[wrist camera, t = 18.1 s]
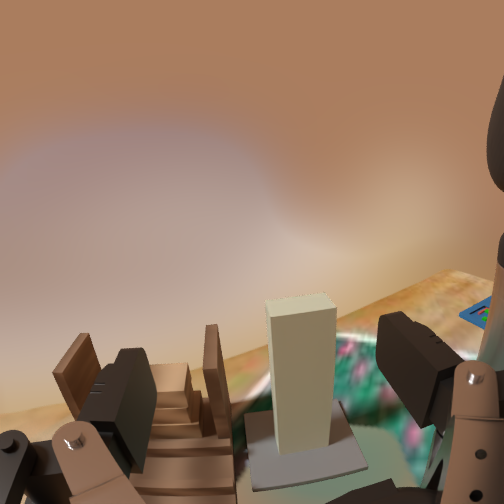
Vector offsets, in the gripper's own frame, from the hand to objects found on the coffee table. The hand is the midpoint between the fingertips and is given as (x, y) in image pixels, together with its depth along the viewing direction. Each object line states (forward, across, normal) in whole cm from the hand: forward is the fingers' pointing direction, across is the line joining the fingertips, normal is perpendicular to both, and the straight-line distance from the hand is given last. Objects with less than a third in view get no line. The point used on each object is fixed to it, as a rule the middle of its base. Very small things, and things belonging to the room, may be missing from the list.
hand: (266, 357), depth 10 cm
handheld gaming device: (+29, -46, +23) cm, 59 cm away
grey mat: (+13, -4, +22) cm, 25 cm away
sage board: (+13, -4, +21) cm, 25 cm away
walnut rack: (+13, +11, +21) cm, 27 cm away
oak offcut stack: (+17, +11, +20) cm, 29 cm away
